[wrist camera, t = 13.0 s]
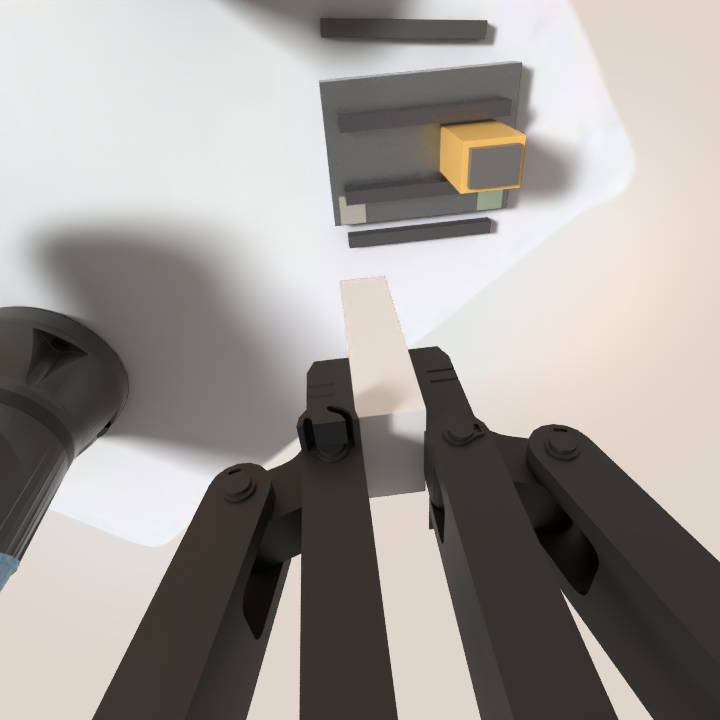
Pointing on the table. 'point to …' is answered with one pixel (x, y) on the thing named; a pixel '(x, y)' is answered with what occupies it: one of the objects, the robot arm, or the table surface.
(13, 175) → the table surface
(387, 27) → the bar
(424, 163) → the panel
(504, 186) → the toggle
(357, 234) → the dark grey long bar
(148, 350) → the table surface
